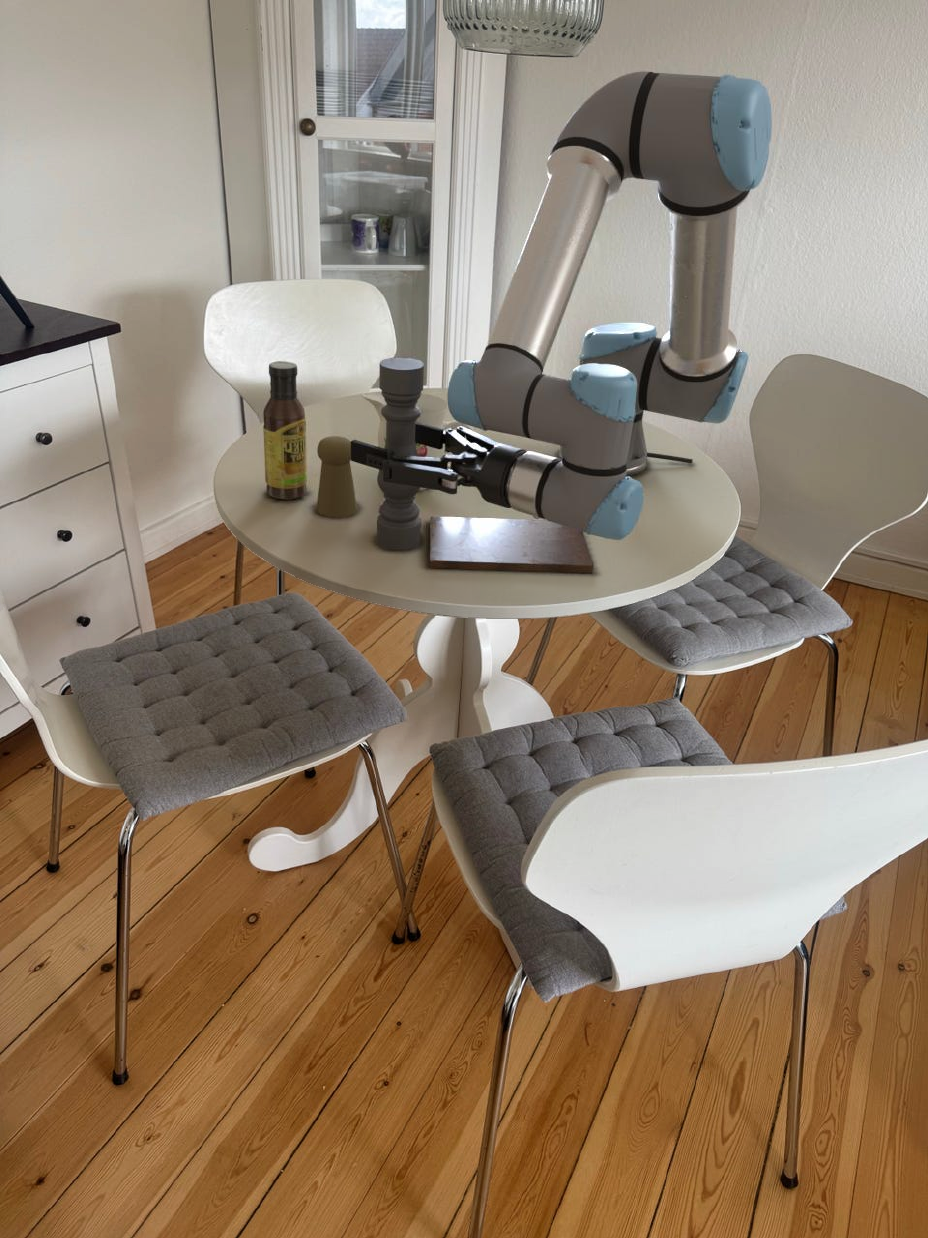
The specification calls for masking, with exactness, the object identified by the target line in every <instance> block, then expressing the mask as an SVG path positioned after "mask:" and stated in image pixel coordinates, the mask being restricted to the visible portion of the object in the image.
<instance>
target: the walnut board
mask: <svg viewBox="0 0 928 1238" xmlns="http://www.w3.org/2000/svg"><path fill="white" fill-rule="evenodd" d="M429 569H444V570H445V569H450V570H477V571H478V570H479V571H481V570H482V571H507V572H508V571H509V572H538V573H539V572H540V573H571V574H573V573H574V574H593V572H594V562H593V559H592V556H591V553H590V550H589V548H588V544H587V541H586V538H585V536H584V532H583V531H580V530H577V529H573V528H570V527H567V526H564V525H561V524H558V523H555V522H552V521H548V520H545V519H516V518H492V517H491V518H488V517H487V518H486V517H463V516H462V517H461V516H460V517H459V516H457V517H456V516H435V515H434V516H433V515H432V516H430V517H429Z"/></svg>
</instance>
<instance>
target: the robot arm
mask: <svg viewBox="0 0 928 1238" xmlns="http://www.w3.org/2000/svg"><path fill="white" fill-rule="evenodd" d="M770 98H771V97H770V94H769V93H768V90H767V88H766V87H765V85H763V83H761V82H760V81H759V80H756V79H752V78H745V77H736V75H734V74H723V75H721V76H714V75H702V74H701V75H700V74H699V75H698V74H682V73H669V72H653V71H646V70H645V71H634V72H630V73H626V74H623V75H621V76H619V77H617V78H614V79H612V80H611V81H609V82H608V83H605V85H603V86H602V87H600V88H599V89H597V90H596V91H595V92H594V93H593V94H591V95H590V96H589V97H588V98H587V99H586V100H585V101H584V102H582V104H581V105H580V106H579V107H578V108H577V109H576V111H574V113H573V114H572V115H571V117H569V119H568V120H567V122H566V123H565V125H564V126H563V128H562V129H561V131H560V132H559V134H558V136H557V137H556V139H555V142H554V144H553V146H552V148H551V151H550V155H549V157H548V160H547V163H546V173H547V176H548V178H549V180H548V183H547V185H546V188H545V189H544V193H543V195H542V198H541V201H540V203H539V205H538V209H537V211H536V214H535V217H534V219H533V222H532V224H531V227H530V230H529V233H528V235H527V238H526V241H525V243H524V245H523V248H522V251H521V253H520V256H519V258H518V262H517V264H516V267H515V269H514V272H513V275H512V277H511V280H510V283H509V285H508V288H507V291H506V293H505V296H504V299H503V301H502V303H501V306H500V308H499V311H498V314H497V316H496V320H495V322H494V325H493V328H492V330H491V333H490V335H489V338H488V341H487V343H486V347H485V349H484V350H483V353H482V355H481V359H480V360H479V361H478V360H477V359H476V360H475V359H474V360H464V361H461V362H460V363H458V366H457V367H456V368H455V369H454V370H453V372H452V374H451V377H450V379H449V383H448V386H447V387H448V388H447V398H446V399H447V400H446V402H447V409H448V411H449V413H450V415H451V417H452V418H453V419H454V420H456V421H458V422H460V423H463V424H466V425H469V426H472V428H476V429H480V430H483V431H484V432H487V431H490V432H491V431H492V432H495V433H501V434H507V435H511V436H517V437H522V438H527V439H529V440H534V441H538V442H542V443H547V444H552V445H557V446H559V448H558V457H555V456H551V455H547V454H543V453H540V452H536V451H533V450H529V451H527V449H523V448H520V447H516V446H512V445H509V444H505V443H501V442H497V441H495V440H493V439H491V438H489V437H486V436H484V435H482V434H480V433H478V432H476V431H475V430H474V431H471V430H469V429H467V428H465V427H462V426H460V427H457V428H456V429H446V431H444V429H441V428H437V427H433V426H430V425H426V424H422V423H419V422H415V443H418V444H422V445H425V446H429V447H432V448H436V449H439V450H440V449H442V448H443V444H445V453H446V451H447V454H446V455H443V456H442V457H441V458H434V457H417V456H401V455H394V451H393V449H390V450H388V449H384V448H381V447H378V445H374V444H371V443H368V442H363V441H361V440H357V439H353V440H350V441H351V460H350V462H353V463H357V464H360V465H363V466H367V467H369V468H373V469H375V470H378V471H379V470H382V471H383V481H385V482H390V483H396V484H403V485H409V486H415V487H422V488H427V489H429V490H434V491H435V490H436V491H440V492H443V493H445V494H448V495H456V494H458V487H460V486H462V487H468V488H470V487H473V488H476V489H477V490H478V492H479V493H480V496H481V498H482V499H483V500H484V501H485V502H487V503H490V504H492V505H496V506H499V507H501V508H505V509H512V510H514V511H516V512H520V513H522V514H523V513H524V514H525V515H530V516H533V519H534V520H540V519H541V520H548V521H552V522H555V523H558V524H561V525H564V526H567V527H570V528H573V529H577V530H580V531H582V532H583V533H585V534H586V535H587V536H594V537H600V538H603V539H609V540H614V541H620V540H622V539H625V538H626V537H627V536H629V535H630V534H631V533H632V532H633V530H634V529H635V527H636V525H637V523H638V521H639V519H640V516H641V513H642V510H643V505H644V498H645V497H644V486H643V485H642V483H641V482H640V481H639V480H637V479H634V478H632V476H634V475H637V474H639V473H641V472H643V471H644V470H645V469H646V466H647V461H648V458H653V459H659V460H666V461H667V460H668V461H671V462H672V461H673V462H678V463H685V464H693V462H694V461H693V460H694V459H693V458H688V457H682V456H675V455H670V454H669V455H668V454H663V453H662V454H661V453H657V452H656V453H654V452H648V450H647V445H646V439H645V433H644V427H643V426H644V425H643V417H644V413H645V412H650V413H654V414H655V413H656V414H659V415H665V416H668V417H669V416H670V417H673V418H679V419H684V420H689V421H693V422H697V423H708V424H718V425H719V424H721V423H724V422H726V420H727V419H728V418H729V416H730V414H731V411H732V409H733V407H734V403H735V401H736V398H737V395H738V392H739V390H740V387H741V384H742V382H743V378H744V376H745V375H744V374H745V372H746V368H747V364H748V361H749V354H748V353H747V352H745V351H743V350H742V349H738V341H737V338H736V336H735V334H734V332H732V330H731V329H730V328H729V324H730V311H731V310H730V309H731V297H732V283H733V270H734V257H735V243H736V231H737V217H738V207H739V206H741V205H742V204H743V203H744V202H745V201H746V199H747V198H748V197H749V195H750V193H751V190H754V189H756V188H757V187H759V185H760V184H761V182H762V180H763V178H764V175H765V172H766V169H767V164H768V160H769V155H770V143H771V139H772V129H773V128H772V127H773V126H772V125H773V124H772V123H773V122H772V121H773V117H772V116H773V115H772V104H771V99H770ZM626 179H636V180H646V181H654V182H655V181H656V182H657V196H658V200H659V202H660V204H661V205H662V206H663V207H664V208H665V210H667V211H668V212H669V331H667V332H666V333H665V334H664V336H663V337H657V336H658V332H657V328H656V326H654V325H652V324H648V323H645V322H644V323H643V322H614V323H605V324H601V325H597V326H594V327H591V328H590V329H589V330H587V331H586V333H585V334H584V336H583V339H582V345H581V352H580V354H579V357H578V359H579V365H578V366H576V367H575V368H574V369H573V370H572V373H571V376H570V378H566V377H565V378H564V377H559V376H555V375H549V374H545V373H544V368H545V366H546V364H547V360H548V358H549V355H550V353H551V351H552V347H553V345H554V342H555V339H556V337H557V334H558V332H559V329H560V326H561V324H562V322H563V318H564V315H565V312H566V310H567V308H568V305H569V302H570V299H571V297H572V294H573V291H574V289H575V287H576V283H577V280H578V278H579V275H580V272H581V270H582V268H583V265H584V262H585V259H586V256H587V254H588V251H589V249H590V246H591V243H592V241H593V238H594V235H595V233H596V230H597V227H598V224H599V222H600V220H601V217H602V214H603V211H604V208H605V206H606V203H607V202H609V201H611V200H613V198H615V197H616V196H617V194H618V193H619V191H620V189H621V186H622V184H623V181H624V180H626ZM644 411H645V412H644ZM449 453H450V454H449ZM449 463H450V464H451V467H450V469H449V470H448V464H449Z"/></svg>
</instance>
